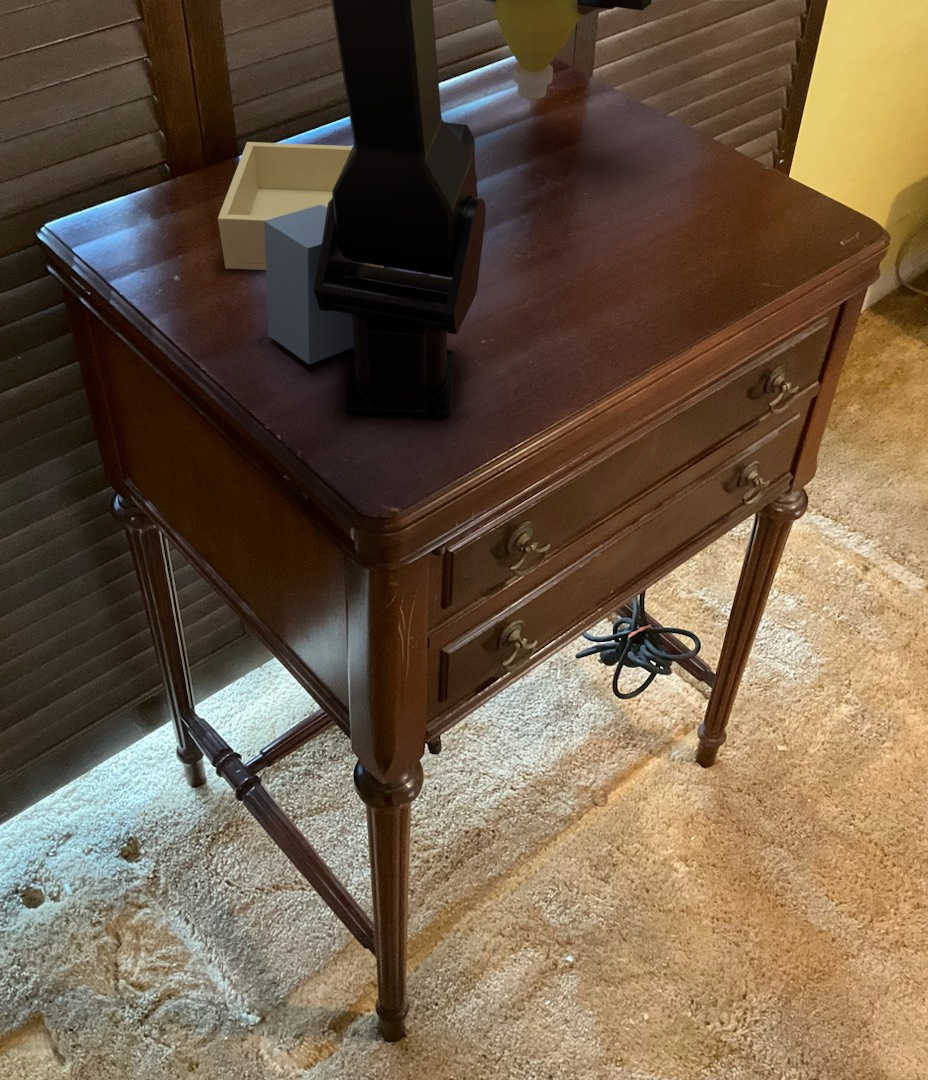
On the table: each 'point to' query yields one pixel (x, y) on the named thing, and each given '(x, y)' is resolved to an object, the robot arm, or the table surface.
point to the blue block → (301, 288)
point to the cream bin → (274, 194)
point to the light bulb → (535, 38)
